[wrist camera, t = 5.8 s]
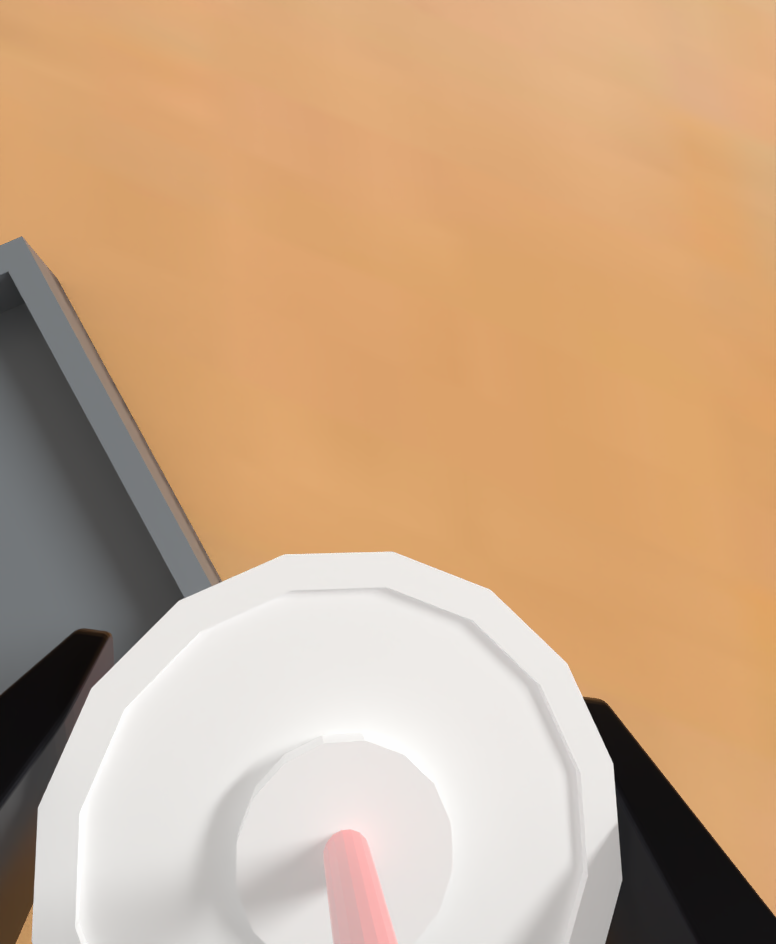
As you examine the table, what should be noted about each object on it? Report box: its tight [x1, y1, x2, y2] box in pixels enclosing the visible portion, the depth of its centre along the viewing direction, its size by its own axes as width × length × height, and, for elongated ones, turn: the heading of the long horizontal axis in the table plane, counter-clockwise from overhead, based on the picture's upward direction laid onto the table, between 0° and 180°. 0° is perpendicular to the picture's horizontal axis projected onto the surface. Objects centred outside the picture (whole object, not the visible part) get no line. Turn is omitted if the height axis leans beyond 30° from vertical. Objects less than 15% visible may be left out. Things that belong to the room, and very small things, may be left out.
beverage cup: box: [32, 552, 622, 944], centre depth 9 cm, size 6×6×14 cm
